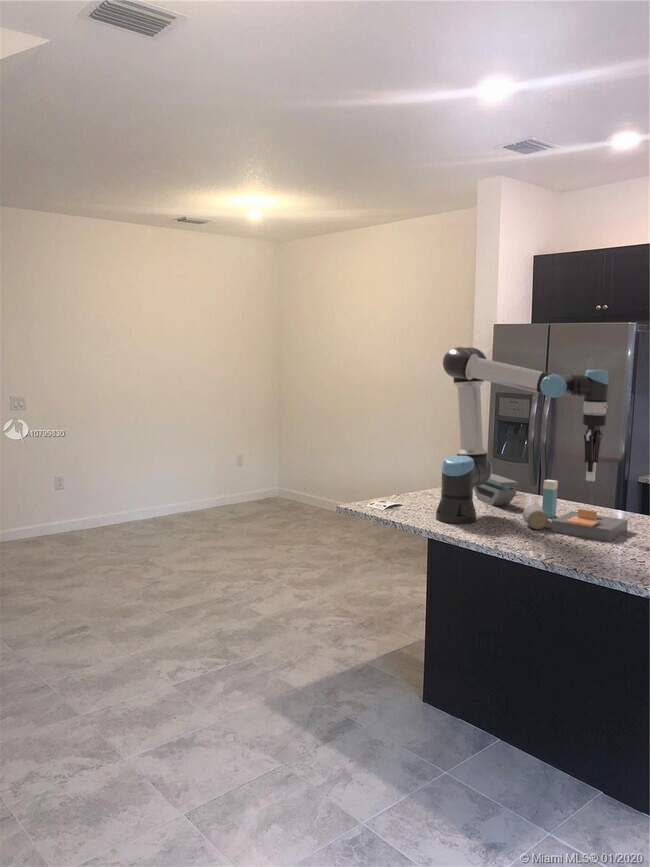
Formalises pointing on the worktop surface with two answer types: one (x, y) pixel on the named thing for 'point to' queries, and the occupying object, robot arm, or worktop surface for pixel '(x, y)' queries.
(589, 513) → the terracotta shutter
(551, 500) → the teal plug
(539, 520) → the ceramic mug
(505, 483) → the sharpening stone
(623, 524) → the socket block
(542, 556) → the worktop surface
